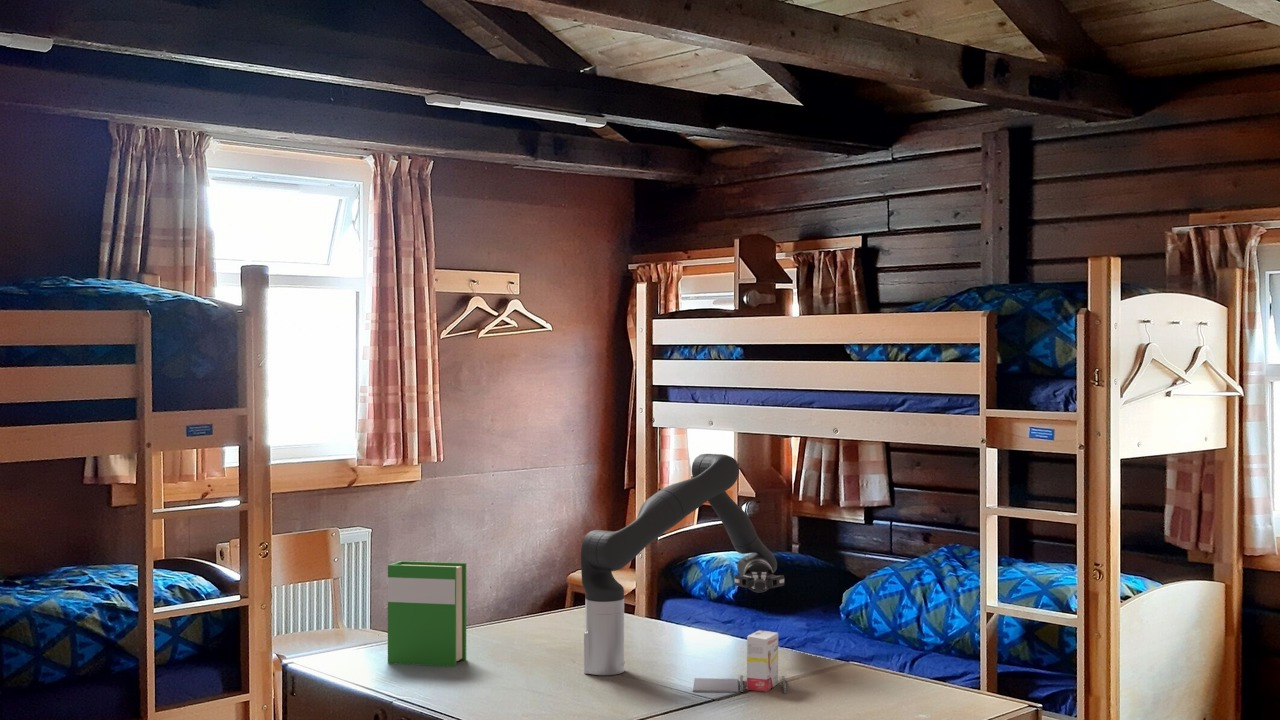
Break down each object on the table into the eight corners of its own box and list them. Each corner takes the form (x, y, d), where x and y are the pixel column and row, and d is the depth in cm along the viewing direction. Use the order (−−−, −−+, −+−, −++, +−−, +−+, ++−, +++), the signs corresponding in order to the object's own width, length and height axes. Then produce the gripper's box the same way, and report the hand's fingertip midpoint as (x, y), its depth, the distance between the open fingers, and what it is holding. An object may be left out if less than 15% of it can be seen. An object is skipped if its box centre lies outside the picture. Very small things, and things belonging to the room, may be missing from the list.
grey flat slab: (693, 691, 263) (693, 686, 263) (694, 679, 274) (694, 674, 274) (786, 693, 262) (786, 687, 262) (784, 681, 273) (784, 675, 273)
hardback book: (466, 659, 296) (466, 562, 297) (455, 666, 289) (455, 567, 289) (400, 656, 300) (400, 560, 301) (387, 663, 293) (387, 565, 294)
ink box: (767, 692, 263) (766, 638, 263) (745, 690, 265) (745, 636, 265) (779, 684, 270) (779, 631, 271) (758, 681, 273) (758, 629, 273)
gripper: (732, 560, 307) (732, 570, 289) (784, 560, 306) (787, 570, 288) (732, 589, 306) (732, 601, 289) (784, 590, 305) (787, 601, 288)
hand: (760, 586), depth 289 cm, fingers closed
